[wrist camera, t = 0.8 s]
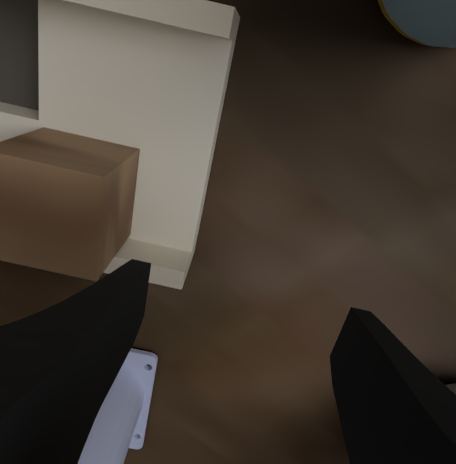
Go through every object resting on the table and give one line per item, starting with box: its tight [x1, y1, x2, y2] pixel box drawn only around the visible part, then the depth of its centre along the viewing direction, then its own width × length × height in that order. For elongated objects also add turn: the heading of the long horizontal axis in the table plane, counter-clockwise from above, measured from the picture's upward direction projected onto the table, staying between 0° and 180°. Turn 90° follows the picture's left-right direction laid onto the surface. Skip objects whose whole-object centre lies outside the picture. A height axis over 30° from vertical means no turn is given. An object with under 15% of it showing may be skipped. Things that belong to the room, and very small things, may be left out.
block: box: [0, 127, 140, 282], centre depth 17 cm, size 4×4×4 cm
